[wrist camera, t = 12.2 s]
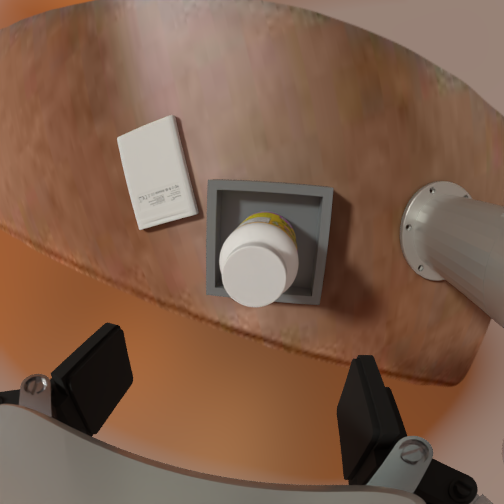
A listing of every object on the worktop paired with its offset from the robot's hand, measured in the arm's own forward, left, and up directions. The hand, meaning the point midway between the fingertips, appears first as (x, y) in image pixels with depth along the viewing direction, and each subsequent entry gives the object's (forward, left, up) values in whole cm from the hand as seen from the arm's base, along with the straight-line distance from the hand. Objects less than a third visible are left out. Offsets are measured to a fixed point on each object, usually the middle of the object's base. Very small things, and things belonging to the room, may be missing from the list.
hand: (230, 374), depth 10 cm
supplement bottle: (0, 0, -23) cm, 23 cm away
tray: (0, 0, -24) cm, 24 cm away
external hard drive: (+14, -7, -25) cm, 29 cm away
